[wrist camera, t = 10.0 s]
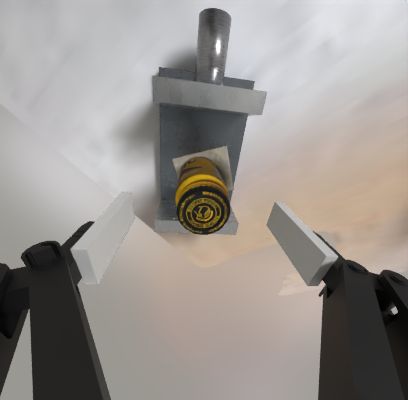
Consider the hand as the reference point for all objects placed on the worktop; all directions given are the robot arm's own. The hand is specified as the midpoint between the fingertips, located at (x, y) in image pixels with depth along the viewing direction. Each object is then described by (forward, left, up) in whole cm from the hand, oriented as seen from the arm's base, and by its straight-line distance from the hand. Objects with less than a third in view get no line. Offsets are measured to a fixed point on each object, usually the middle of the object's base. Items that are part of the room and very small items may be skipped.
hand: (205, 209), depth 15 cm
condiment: (0, +1, -12) cm, 12 cm away
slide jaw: (-13, 0, -12) cm, 17 cm away
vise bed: (-3, 0, -13) cm, 13 cm away
